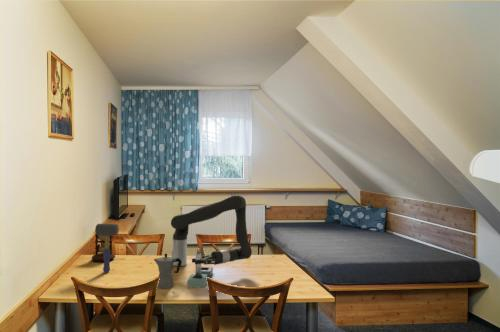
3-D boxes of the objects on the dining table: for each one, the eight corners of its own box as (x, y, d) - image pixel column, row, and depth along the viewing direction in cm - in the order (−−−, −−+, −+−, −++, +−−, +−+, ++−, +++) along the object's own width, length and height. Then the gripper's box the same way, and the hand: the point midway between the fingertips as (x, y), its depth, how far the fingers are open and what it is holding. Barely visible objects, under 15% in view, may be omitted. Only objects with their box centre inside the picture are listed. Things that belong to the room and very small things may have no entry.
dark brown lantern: (117, 256, 255) (118, 228, 254) (111, 262, 240) (111, 233, 239) (96, 256, 254) (96, 228, 253) (88, 262, 239) (88, 232, 239)
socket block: (195, 277, 215) (195, 270, 215) (198, 272, 224) (198, 266, 224) (210, 278, 214) (210, 271, 214) (212, 273, 223) (212, 266, 223)
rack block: (187, 286, 200) (187, 279, 200) (191, 280, 209) (191, 274, 209) (204, 287, 199) (204, 280, 199) (207, 281, 209) (207, 274, 208)
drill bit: (194, 279, 203) (195, 249, 202) (196, 277, 206) (196, 247, 205) (200, 279, 202) (200, 249, 202) (201, 277, 206) (201, 247, 205)
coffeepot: (151, 288, 195) (151, 255, 195) (155, 282, 205) (156, 251, 204) (179, 289, 195) (180, 256, 195) (182, 283, 205) (183, 251, 204)
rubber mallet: (118, 270, 225) (119, 222, 224) (115, 274, 218) (115, 224, 217) (98, 270, 224) (99, 222, 224) (93, 274, 217) (94, 224, 216)
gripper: (214, 248, 218) (188, 252, 208) (226, 253, 206) (199, 257, 196) (214, 260, 218) (188, 265, 208) (226, 266, 206) (199, 271, 196)
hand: (193, 261), depth 202 cm, fingers closed on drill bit, 3 cm apart
